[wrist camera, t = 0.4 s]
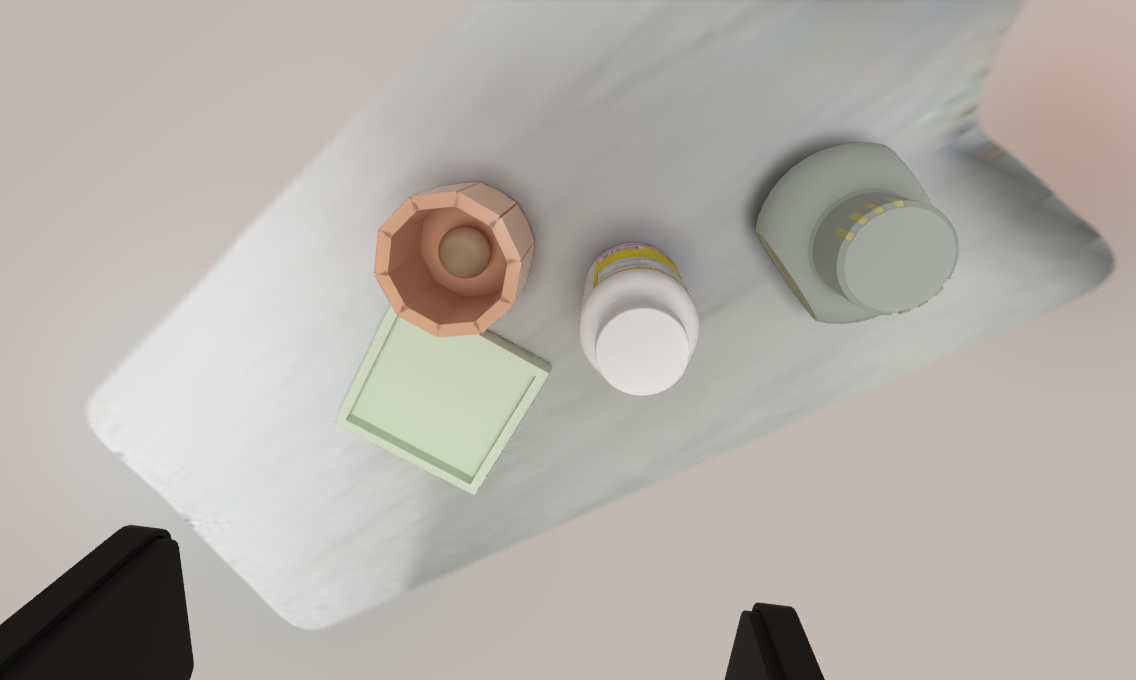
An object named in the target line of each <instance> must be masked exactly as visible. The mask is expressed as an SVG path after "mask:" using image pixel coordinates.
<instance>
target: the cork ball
mask: <svg viewBox="0 0 1136 680" xmlns="http://www.w3.org/2000/svg"><path fill="white" fill-rule="evenodd" d="M438 255H439V259H440V262H441V264H442V266H443V267H444V269H445V270H446V271H447V272H448V273H450V274H451V275H453V276H455V277H458V278H464V279H467V278H473V277H476V276H478V275H479V274H481V273H482V272H483V271H484V270H485V269H486V268H487V266H488V264H489V262H490V259H491V247H490V243H489V241H488V239H487V238H486V236H485V235H484V234H483V233H482V232H481V231H479V230H478V229H476V228H473V227H470V226H458V227H455V228H453V229H451V230H449V231H448V232H447V233H446V234H445V235H444V236H443V237H442V239H441V241H440V244H439V249H438Z"/></svg>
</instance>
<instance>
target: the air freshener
mask: <svg viewBox="0 0 1136 680" xmlns="http://www.w3.org/2000/svg"><path fill="white" fill-rule="evenodd" d="M755 231H756V234H757V236H758V238H759V240H760V241H761V243H762V245H763V247H764V248H765V250H766V252H767V253H768V255H769V256H770V258H771V260H772V261H773V263H774V264H775V266H776V267H777V269H778V270H779V272H780V273H781V275H782V276H783V278H784V279H785V281H786V282H787V284H788V285H789V287H790V288H791V289H792V291H793V292H794V294H795V295H796V296H797V298H798V299H799V301H800V302H801V303H802V305H803V306H804V307H805V309H806V310H807V311H808V312H809V314H810V315H811V316H812V317H813V318H814V319H815V320H816V321H819V322H824V323H835V324H845V323H854V322H860V321H864V320H868V319H871V318H875V317H877V316H879V315H891V314H892V313H896V312H898V313H899V314H901V313H905V312H909V311H910V310H911V309H913V308H916V307H920V306H922V305H924V304H925V303H927V302H928V300H929V299H930V298H932V297H933V296H936V295H937V294H938V293H939V292H940V291H941V290H942V289H943V287H942V286H943V285H944V283H945V282H946V280H947V279H950V277H951V275H952V273H953V271H954V268H955V265H956V262H957V257H958V239H957V235H956V232H955V229H954V227H953V225H952V223H951V222H950V220H949V219H948V218H947V217H946V216H945V215H944V214H943V213H942V212H941V211H940V210H938V209H937V208H935V207H933V205H932V203H931V202H930V200H929V198H928V196H927V195H926V193H925V191H924V190H923V188H922V186H921V185H920V183H919V182H918V180H917V179H916V177H915V176H914V175H913V173H912V172H911V171H910V169H909V168H908V167H907V166H906V164H905V163H904V162H903V161H902V160H901V159H900V158H899V157H898V156H897V155H896V154H895V153H894V152H893V151H892V150H891V149H890V148H888V147H887V146H885V145H881V144H876V143H860V142H854V143H847V144H840V145H836V146H833V147H830V148H826V149H823V150H820V151H818V152H816V153H814V154H812V155H810V156H808V157H806V158H805V159H803V160H802V161H801V162H799V163H798V164H796V165H795V166H793V167H792V168H791V169H790V170H789V171H788V172H787V173H786V174H785V175H784V176H783V177H782V178H781V179H780V180H779V181H778V182H777V184H776V185H775V186H774V187H773V189H772V190H771V191H770V193H769V195H768V197H767V198H766V200H765V202H764V204H763V206H762V208H761V211H760V214H759V216H758V219H757V224H756V229H755Z"/></svg>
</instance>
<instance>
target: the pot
mask: <svg viewBox="0 0 1136 680" xmlns="http://www.w3.org/2000/svg"><path fill="white" fill-rule="evenodd" d="M458 226H470V227H473V228H476V229H478V230H479V231H481V232H482V233H483V234H484V235H485V236H486V238H487V239H488V241H489V243H490V247H491V259H490V262H489V264H488V266H487V268H486V269H485V270H484V271H483V272H482V273H481V274H479V275H478V276H476V277H473V278H467V279H464V278H458V277H455V276H453V275H451V274H450V273H448V272H447V271H446V270H445V269H444V267H443V266H442V264H441V262H440V259H439V255H438V249H439V244H440V241H441V239H442V237H443V236H444V235H445V234H446V233H447V232H448V231H449V230H451V229H453V228H455V227H458ZM534 244H535V242H534V238H533V235H532V231H531V228H530V225H529V222H528V220H527V218H526V216H525V214H524V213H523V211H522V210H521V209H520V207H519V206H518V204H516V202H514V201H513V200H512V199H511V198H510V197H509V196H507V195H506V194H504V193H503V192H502V191H500V190H498V189H496V188H494V187H491V186H488V185H485V184H484V183H482V182H481V183H480V182H474V183H460V184H455V185H446V186H440V187H437V188H434V189H431V190H428V191H425V192H422V193H419V194H416V195H413V196H411V197H409V198H408V199H407V200H406V201H405V202H404V203H403V204H402V205H401V206H400V207H399V208H398V209H397V210H396V211H395V212H394V213H393V214H392V215H391V216H390V217H389V218H388V219H387V220H386V221H385V223H384V224H383V225H382V226H381V227H380V228H379V230H378V237H377V247H376V258H375V269H374V274H376V275H375V277H376V279H377V281H378V283H379V285H380V286H381V288H382V290H383V292H384V294H385V295H386V297H387V299H388V301H389V302H390V304H391V306H392V308H393V310H394V311H395V313H396V314H399V315H398V316H399V317H400V318H402V319H404V320H406V321H408V322H410V323H411V324H413V325H415V326H417V327H419V328H421V329H422V330H424V331H426V332H428V333H430V334H432V335H433V336H435V337H437V336H438V338H439V337H451V336H463V335H475V334H481V333H483V332H484V331H485V330H486V329H488V328H489V327H490V326H491V325H492V324H493V323H494V322H496V321H497V320H498V319H499V318H500V317H501V316H502V315H503V314H505V313H506V312H507V311H508V310H509V309H510V308H511V307H512V306H513V305H514V303H515V301H516V300H517V298H518V296H519V294H520V292H521V291H522V289H523V287H524V285H525V283H526V281H527V280H528V275H529V270H530V266H531V263H532V259H533V252H534Z"/></svg>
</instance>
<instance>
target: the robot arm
mask: <svg viewBox="0 0 1136 680" xmlns="http://www.w3.org/2000/svg"><path fill="white" fill-rule="evenodd" d="M193 662H194V661H193V654H192V645H191V638H190V630H189V622H188V614H187V606H186V599H185V591H184V583H183V575H182V568H181V560H180V552H179V546H178V543H177V542H176V541H175V540H172V539H171V535H170V533H169V532H168V531H167V530H164V529H159V528H151V527H142V526H135V525H129V526H125V527H123V528H121V529H119V530H118V531H117V532H116V533H114V534H113V535H112V536H110V537H109V538H108V539H107V540H105V541H104V542H103V543H102V544H100V545H99V546H98V547H97V548H95V550H93V551H92V552H90V553H89V554H88V555H87V556H85V557H84V558H83V559H82V560H80V561H79V562H78V563H77V564H75V565H74V566H73V567H72V568H70V569H69V570H68V571H67V572H66V573H64V574H63V575H62V576H61V577H59V578H58V579H57V580H56V581H54V582H53V583H52V584H51V585H49V586H48V587H47V588H46V589H44V590H43V591H42V592H41V593H39V594H38V595H37V596H36V597H34V598H33V599H32V600H31V601H29V602H28V603H27V604H26V605H24V606H23V607H22V608H21V609H19V610H18V611H17V612H16V613H14V614H13V615H12V616H11V617H10V618H8V619H7V620H6V621H4V622H3V623H2V624H1V625H0V680H190V678H191V674H192V671H193V666H194V663H193ZM725 680H825V679H824V677H823V675H822V673H821V670H820V667H819V665H818V663H817V661H816V658H815V655H814V653H813V651H812V648H811V646H810V644H809V641H808V639H807V636H806V634H805V632H804V629H803V627H802V625H801V622H800V620H799V617H798V615H797V613H796V611H795V609H794V608H792V607H790V606H782V605H774V604H765V603H756V604H755V605H754V606H753V609H752V611H743V612H742V614H741V617H740V621H739V625H738V629H737V633H736V637H735V641H734V645H733V648H732V652H731V656H730V660H729V665H728V668H727V672H726V677H725Z"/></svg>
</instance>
